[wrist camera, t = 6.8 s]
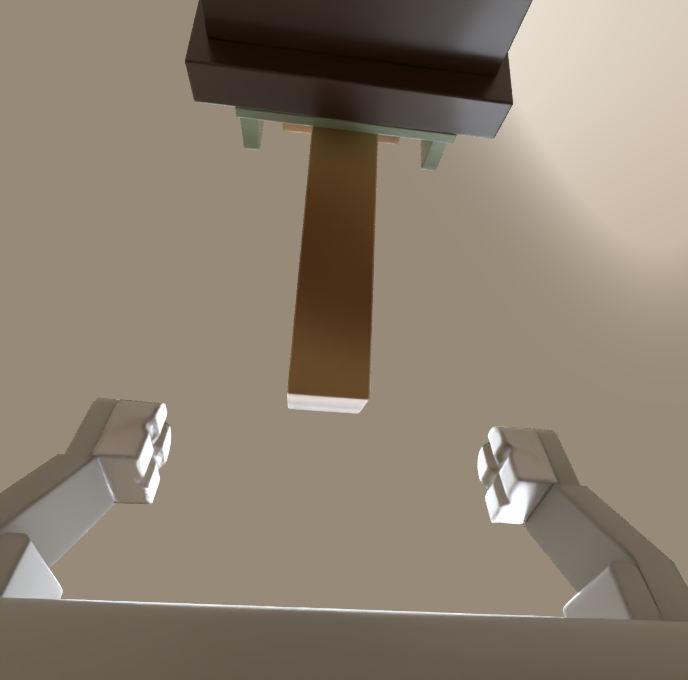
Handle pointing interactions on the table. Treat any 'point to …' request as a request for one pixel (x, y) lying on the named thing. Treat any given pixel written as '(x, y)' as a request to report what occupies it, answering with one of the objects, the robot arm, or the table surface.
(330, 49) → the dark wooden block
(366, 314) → the brush
